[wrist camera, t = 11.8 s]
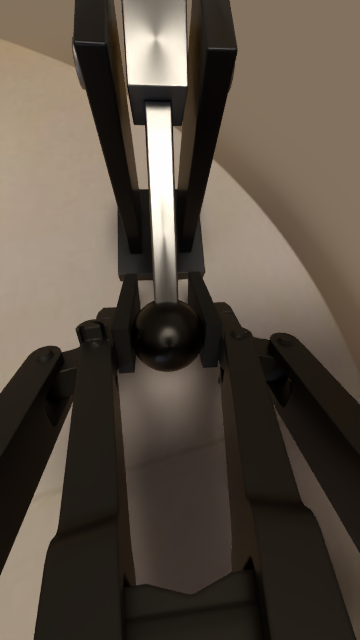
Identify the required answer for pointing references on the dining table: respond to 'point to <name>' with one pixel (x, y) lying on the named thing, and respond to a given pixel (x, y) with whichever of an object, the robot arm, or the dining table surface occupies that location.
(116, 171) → the bracket
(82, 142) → the dining table surface
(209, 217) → the dining table surface
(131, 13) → the lever
